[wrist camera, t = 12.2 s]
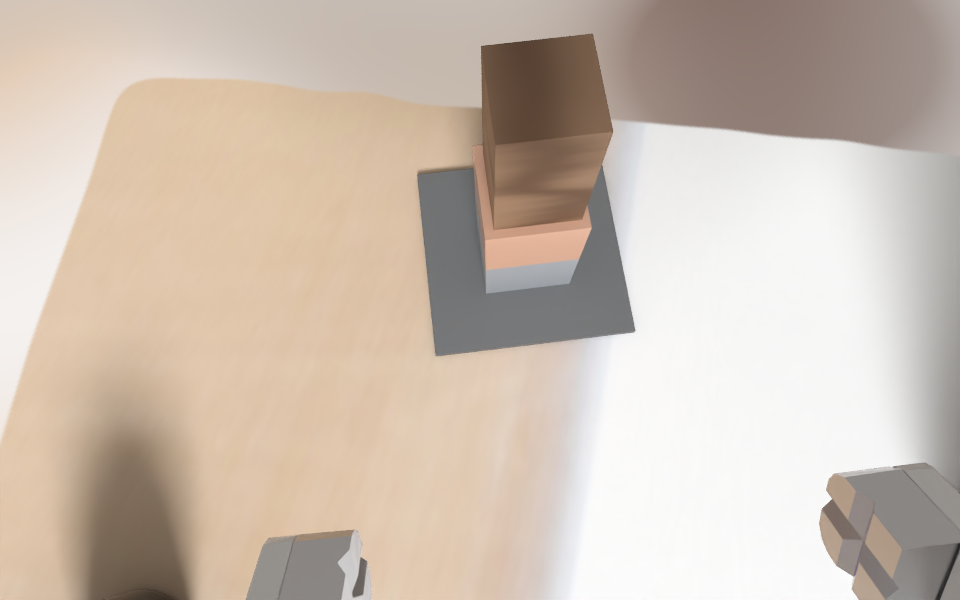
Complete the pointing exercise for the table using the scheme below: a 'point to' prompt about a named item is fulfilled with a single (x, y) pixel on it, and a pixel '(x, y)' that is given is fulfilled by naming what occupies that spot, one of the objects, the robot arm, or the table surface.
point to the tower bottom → (525, 273)
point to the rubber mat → (518, 313)
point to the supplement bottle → (140, 595)
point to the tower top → (524, 232)
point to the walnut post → (542, 129)
